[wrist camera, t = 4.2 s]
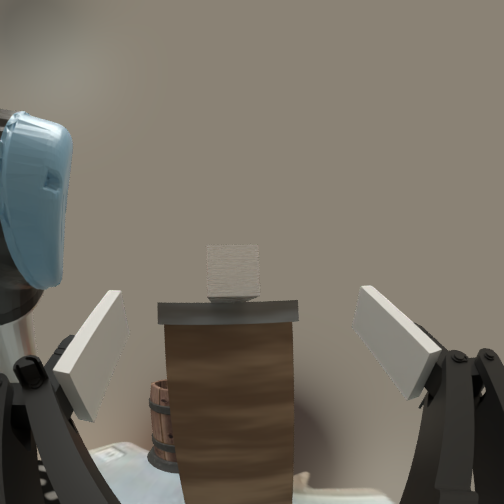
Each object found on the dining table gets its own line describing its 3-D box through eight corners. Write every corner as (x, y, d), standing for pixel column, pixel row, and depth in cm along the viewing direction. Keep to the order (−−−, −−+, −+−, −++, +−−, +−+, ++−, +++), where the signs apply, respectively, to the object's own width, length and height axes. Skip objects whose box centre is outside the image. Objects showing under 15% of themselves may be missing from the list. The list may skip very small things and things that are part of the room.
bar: (260, 295, 16) (258, 244, 16) (207, 296, 15) (206, 244, 16) (232, 307, 47) (231, 289, 47) (214, 307, 46) (214, 290, 47)
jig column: (293, 553, 17) (297, 300, 25) (196, 560, 16) (157, 302, 24) (275, 507, 30) (271, 304, 38) (198, 511, 28) (177, 306, 36)
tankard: (141, 445, 52) (132, 376, 56) (201, 438, 61) (196, 373, 65) (164, 494, 33) (148, 407, 37) (243, 477, 41) (239, 396, 45)
